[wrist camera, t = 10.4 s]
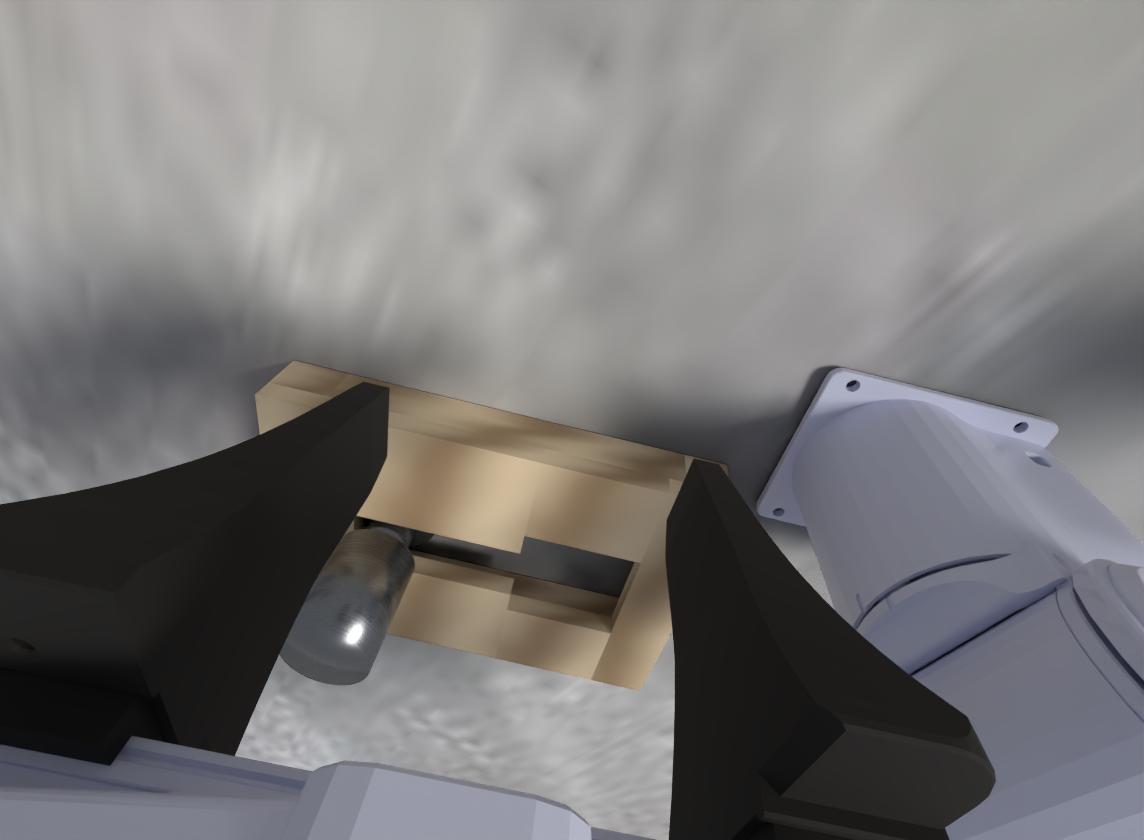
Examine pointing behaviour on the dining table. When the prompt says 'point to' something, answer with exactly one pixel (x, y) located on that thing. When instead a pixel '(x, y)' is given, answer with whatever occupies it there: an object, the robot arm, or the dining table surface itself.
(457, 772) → the dining table surface
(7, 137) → the dining table surface
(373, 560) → the key peg
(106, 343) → the dining table surface
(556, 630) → the keyhole plate
